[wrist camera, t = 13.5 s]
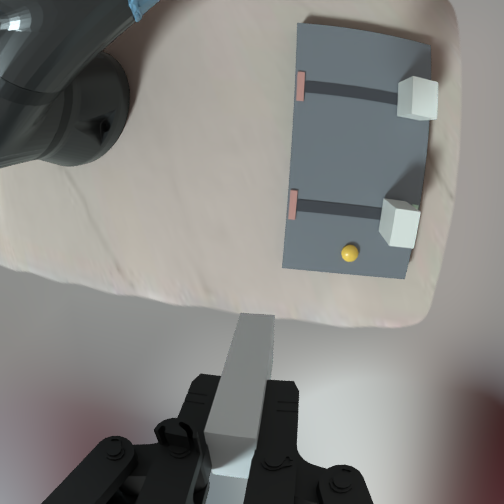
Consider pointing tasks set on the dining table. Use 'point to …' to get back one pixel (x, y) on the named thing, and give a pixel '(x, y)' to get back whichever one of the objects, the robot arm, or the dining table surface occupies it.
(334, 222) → the breaker panel
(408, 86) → the block
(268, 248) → the dining table surface
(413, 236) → the block
